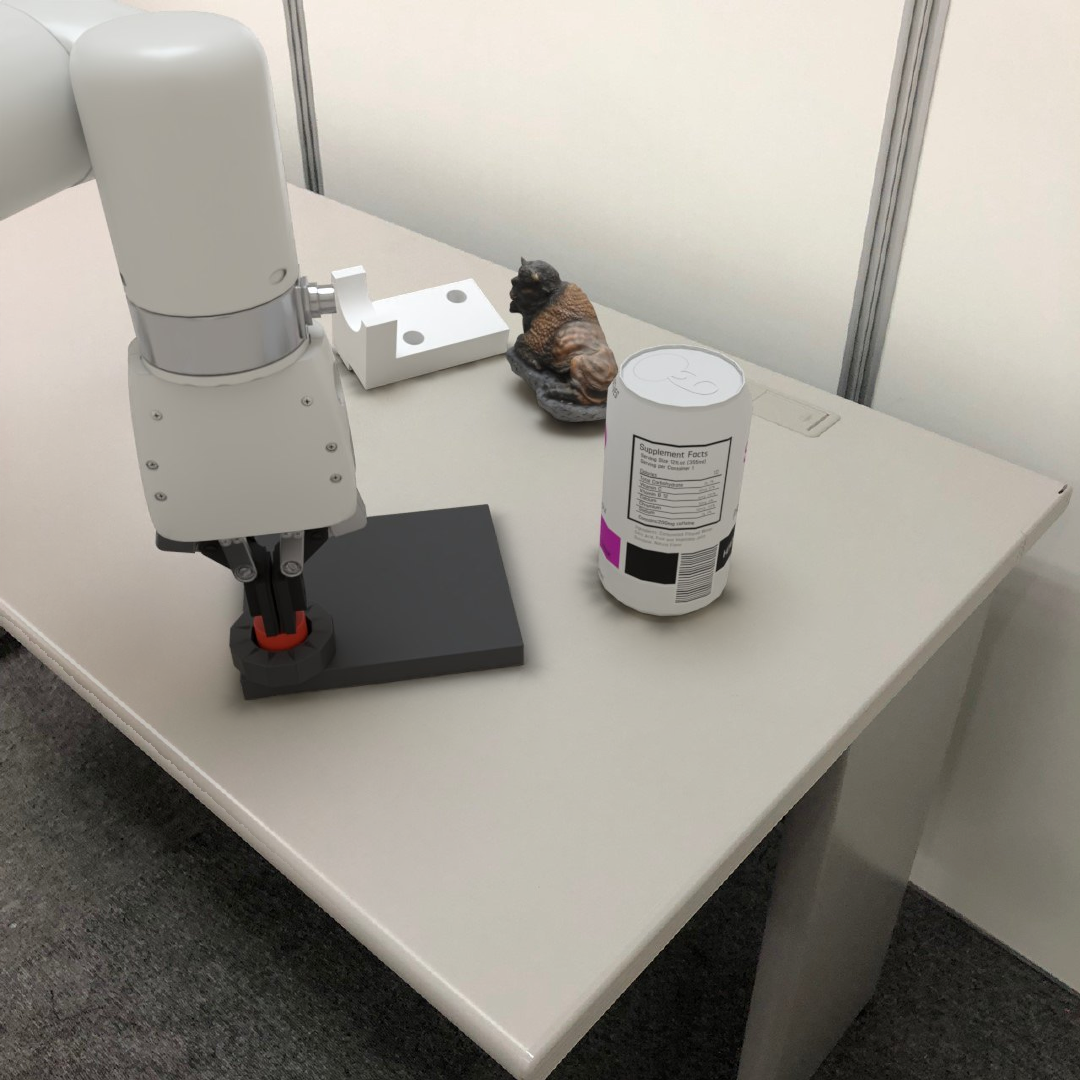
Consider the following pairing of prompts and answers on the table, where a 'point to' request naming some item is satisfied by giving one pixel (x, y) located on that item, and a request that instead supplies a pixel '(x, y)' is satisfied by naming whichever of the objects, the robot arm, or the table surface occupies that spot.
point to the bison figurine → (560, 345)
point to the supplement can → (672, 477)
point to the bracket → (412, 329)
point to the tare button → (281, 635)
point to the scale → (392, 607)
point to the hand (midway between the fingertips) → (281, 618)
